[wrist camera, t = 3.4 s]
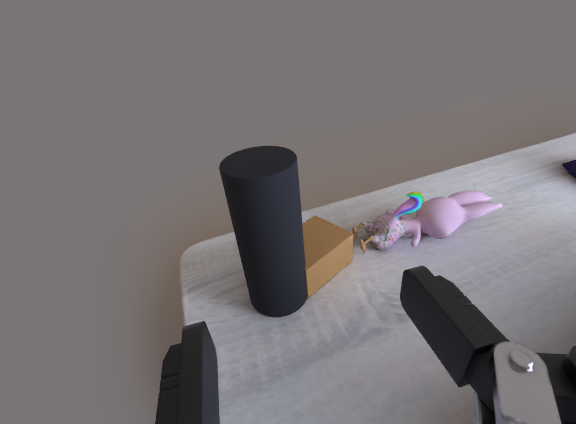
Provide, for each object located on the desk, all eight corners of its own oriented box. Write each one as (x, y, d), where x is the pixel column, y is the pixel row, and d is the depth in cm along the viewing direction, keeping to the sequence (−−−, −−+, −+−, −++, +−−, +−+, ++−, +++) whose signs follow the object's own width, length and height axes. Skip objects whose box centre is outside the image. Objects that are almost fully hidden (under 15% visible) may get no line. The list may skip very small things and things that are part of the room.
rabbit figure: (370, 275, 30) (517, 231, 29) (363, 229, 26) (529, 179, 26) (350, 237, 35) (475, 199, 35) (342, 195, 32) (480, 152, 31)
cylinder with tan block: (276, 328, 24) (250, 186, 17) (239, 294, 28) (204, 164, 20) (354, 261, 30) (359, 133, 23) (315, 240, 33) (308, 122, 26)
